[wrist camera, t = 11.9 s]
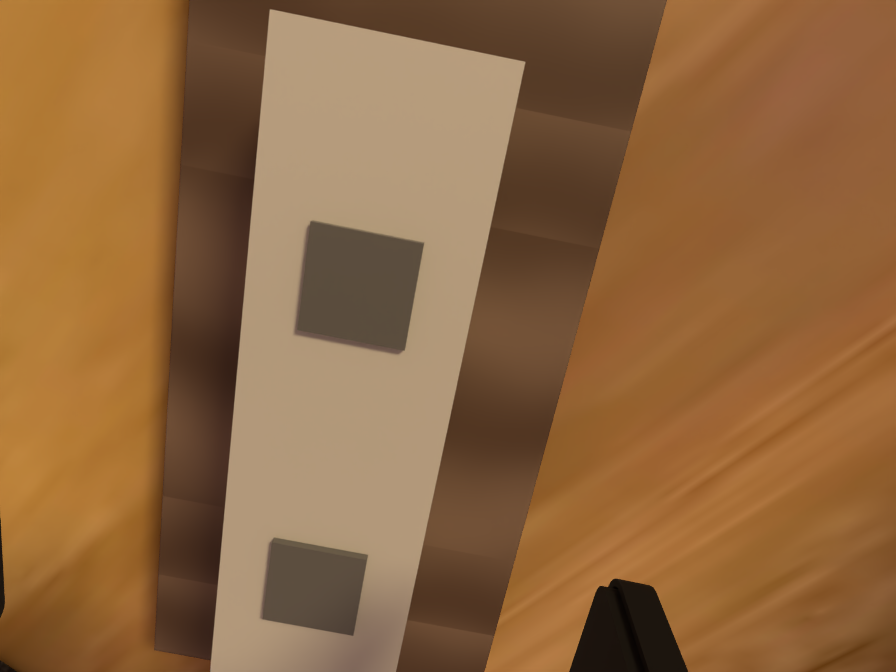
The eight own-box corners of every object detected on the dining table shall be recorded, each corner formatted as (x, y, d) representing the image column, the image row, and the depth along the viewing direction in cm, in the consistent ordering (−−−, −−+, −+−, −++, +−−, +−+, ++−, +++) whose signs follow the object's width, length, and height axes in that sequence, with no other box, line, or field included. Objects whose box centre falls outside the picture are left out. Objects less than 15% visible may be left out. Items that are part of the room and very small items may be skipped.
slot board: (230, -75, 16) (195, -111, 14) (643, 12, 16) (669, -10, 14) (182, 605, 23) (154, 649, 21) (473, 658, 23) (474, 707, 21)
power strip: (504, 98, 17) (526, 60, 11) (404, 583, 23) (379, 750, 16) (341, 64, 17) (266, 6, 11) (279, 560, 22) (203, 719, 16)
